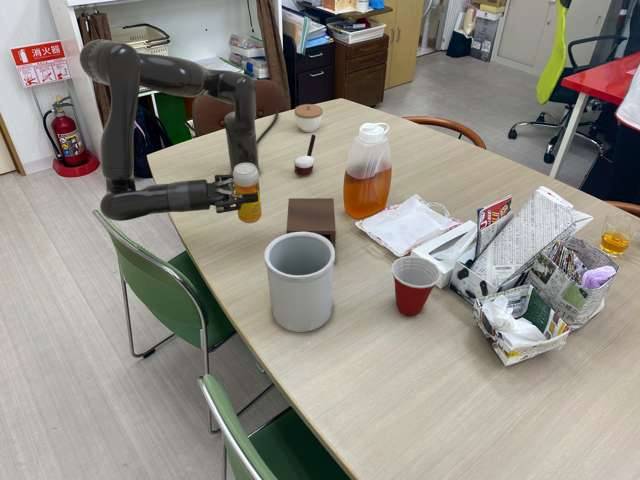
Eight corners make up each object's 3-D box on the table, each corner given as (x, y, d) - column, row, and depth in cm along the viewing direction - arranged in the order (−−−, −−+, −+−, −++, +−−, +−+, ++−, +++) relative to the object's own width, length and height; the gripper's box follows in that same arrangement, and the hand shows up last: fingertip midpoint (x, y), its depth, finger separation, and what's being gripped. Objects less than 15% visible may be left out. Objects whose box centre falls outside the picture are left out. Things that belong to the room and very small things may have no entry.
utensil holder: (257, 304, 108) (251, 247, 97) (309, 278, 115) (308, 222, 104) (292, 345, 99) (289, 288, 88) (346, 314, 106) (349, 257, 95)
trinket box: (312, 137, 174) (312, 114, 168) (289, 130, 178) (288, 107, 172) (327, 127, 181) (328, 104, 175) (305, 120, 185) (304, 97, 179)
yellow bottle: (257, 226, 118) (253, 176, 108) (235, 223, 119) (228, 173, 109) (264, 212, 123) (260, 163, 113) (243, 209, 124) (237, 160, 114)
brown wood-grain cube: (290, 230, 130) (288, 198, 123) (332, 230, 130) (333, 198, 123) (288, 264, 119) (286, 230, 112) (334, 263, 119) (335, 230, 112)
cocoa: (296, 181, 150) (295, 148, 142) (288, 172, 154) (287, 139, 147) (322, 173, 154) (322, 141, 146) (313, 165, 158) (313, 133, 150)
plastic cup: (435, 296, 111) (444, 259, 103) (428, 329, 103) (437, 292, 95) (391, 285, 113) (396, 248, 106) (381, 317, 105) (386, 279, 98)
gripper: (185, 200, 105) (258, 193, 108) (187, 167, 116) (253, 162, 119) (190, 225, 110) (260, 218, 113) (192, 192, 121) (256, 186, 124)
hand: (256, 189), depth 116 cm, fingers closed on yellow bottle, 6 cm apart
